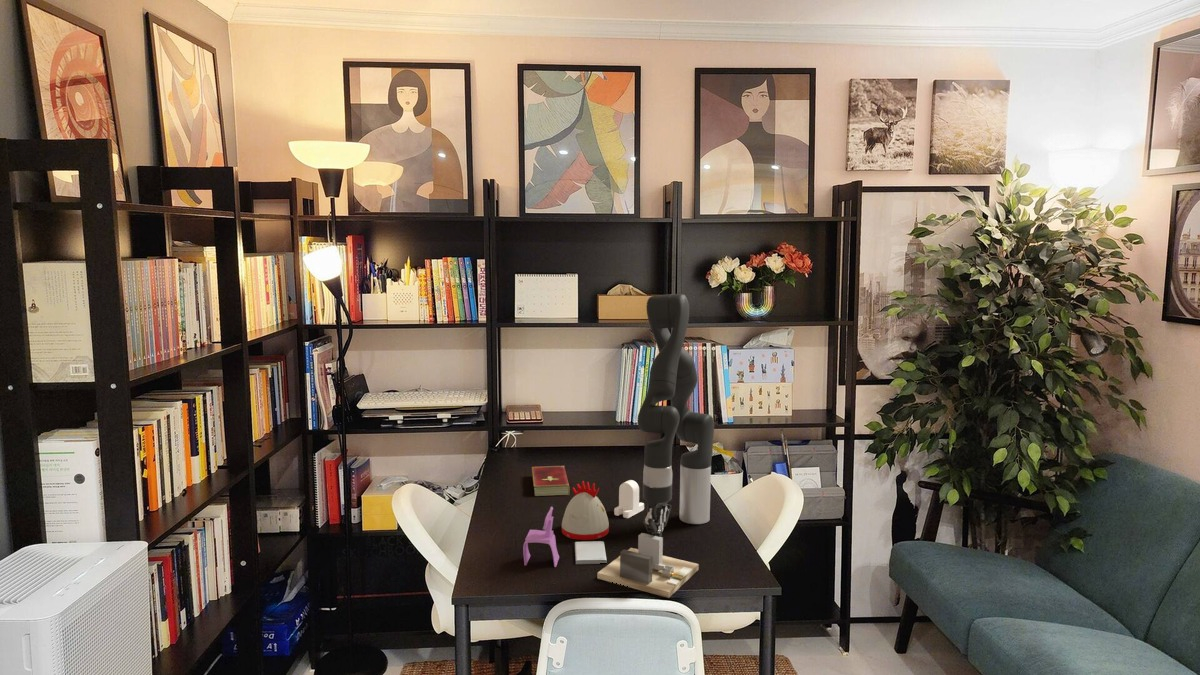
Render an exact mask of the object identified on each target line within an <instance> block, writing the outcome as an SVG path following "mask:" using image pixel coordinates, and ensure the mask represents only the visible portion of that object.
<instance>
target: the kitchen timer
mask: <svg viewBox="0 0 1200 675" xmlns="http://www.w3.org/2000/svg"><path fill="white" fill-rule="evenodd" d="M590 487H591V488H590ZM576 488H577V490H576ZM576 488H575V487H572V492H573V494H574V495H573V497H572V498H571V499H570V501H569V502H568V503H567V505H566V507H565V510H564V513H563V516H562V522H561V533H562V535H564V536H565V537H567V538H569V539H573V540H581V541H590V540H597V539H600V538H603V537H605V536H607V535H608V533H609V532H610V531H609V530H610V525H609V518H608V515H607V511H606V509H605V506H604V505H603V503H602V501H601V500H600V499H599V497H598V496H597V494H598V492H599V491H600V487H598V488H597V489H596V484H595V482H594V483H592V485H591V486H590V482H589V481H587V482H586V484H585V481H584V480H582V482H581V485H580V483H577V484H576Z"/></svg>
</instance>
